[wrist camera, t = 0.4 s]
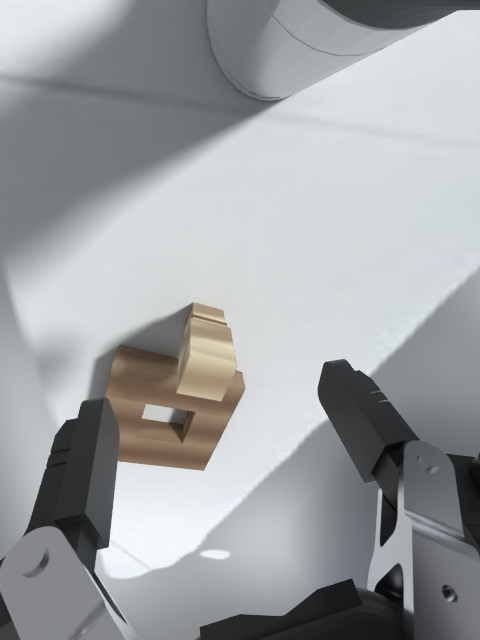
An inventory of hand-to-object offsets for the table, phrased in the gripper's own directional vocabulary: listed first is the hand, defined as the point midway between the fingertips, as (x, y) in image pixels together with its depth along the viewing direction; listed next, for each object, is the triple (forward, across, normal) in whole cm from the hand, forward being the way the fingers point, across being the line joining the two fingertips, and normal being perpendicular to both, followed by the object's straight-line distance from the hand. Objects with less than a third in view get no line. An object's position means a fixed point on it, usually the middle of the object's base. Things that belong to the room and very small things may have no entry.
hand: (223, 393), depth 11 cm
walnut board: (+19, +4, +24) cm, 31 cm away
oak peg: (+20, -1, +11) cm, 22 cm away
